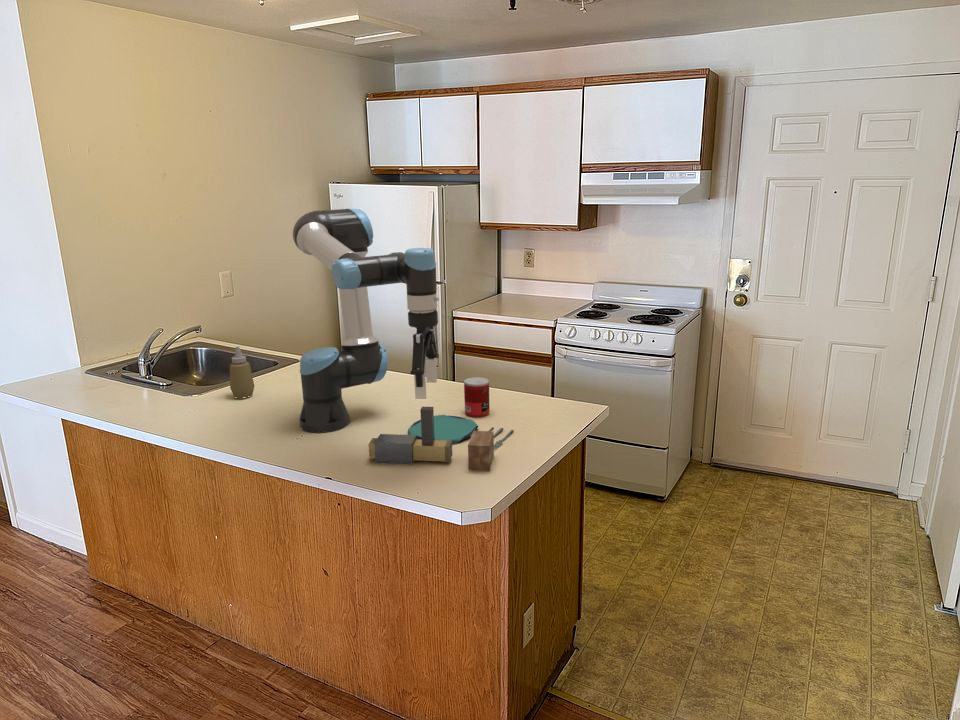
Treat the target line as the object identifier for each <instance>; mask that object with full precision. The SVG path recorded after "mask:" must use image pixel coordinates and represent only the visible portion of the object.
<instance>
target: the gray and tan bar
mask: <svg viewBox="0 0 960 720" xmlns="http://www.w3.org/2000/svg"><path fill="white" fill-rule="evenodd" d="M419 411H420V420H421V434H422V440H421V439H416V440H414V442H413V444H412V460H414V461H426V462H429V461H430V462H447V463H449V462H451V459H452V457H453V443H452V440H447V441H445V440H435V434H434V416H435V415H434V414H435V413H434V411H435V409H434V406H421V407H420V409H419ZM377 438H378V437H372V438H371V440H370V441H369V442H368V444H367V445H368V458H369V459H371V460H376V459H375V444H374V442H375V441H376V440H377Z"/></svg>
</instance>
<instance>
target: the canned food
mask: <svg viewBox="0 0 960 720" xmlns="http://www.w3.org/2000/svg"><path fill="white" fill-rule="evenodd" d="M463 388H464V389H463V390H464V391H463V392H464V395H463V397H464V413H465V415H466V416H467V417H470V418H483V417H486V416H488V415H489V413H490V380H489V379H487V378H485V377H468V378H466V379H465V380H464V381H463Z"/></svg>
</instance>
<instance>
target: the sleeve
mask: <svg viewBox="0 0 960 720" xmlns="http://www.w3.org/2000/svg"><path fill="white" fill-rule="evenodd" d="M376 438H377V440H376V441H375V442H374V444H375V459H374V460H375V464H382V463H383V464H387V465H410V466H412V465H413V464H414V462H415V460H412V444H413V442H414V440H417V438H416V435H408V434H397V433H396V434H391V433H380V434H379V435H378V437H376Z"/></svg>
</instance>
